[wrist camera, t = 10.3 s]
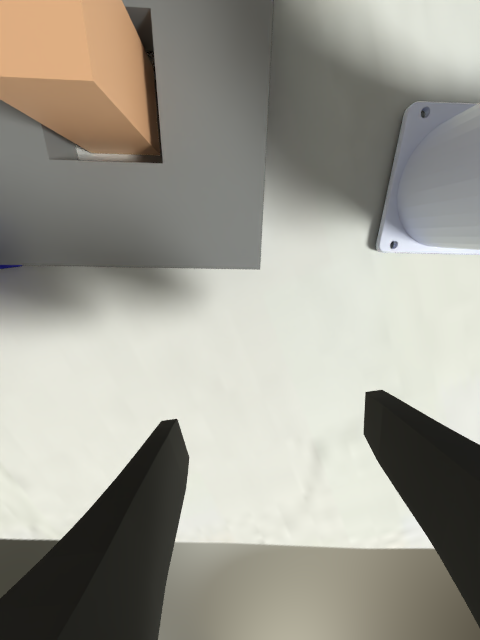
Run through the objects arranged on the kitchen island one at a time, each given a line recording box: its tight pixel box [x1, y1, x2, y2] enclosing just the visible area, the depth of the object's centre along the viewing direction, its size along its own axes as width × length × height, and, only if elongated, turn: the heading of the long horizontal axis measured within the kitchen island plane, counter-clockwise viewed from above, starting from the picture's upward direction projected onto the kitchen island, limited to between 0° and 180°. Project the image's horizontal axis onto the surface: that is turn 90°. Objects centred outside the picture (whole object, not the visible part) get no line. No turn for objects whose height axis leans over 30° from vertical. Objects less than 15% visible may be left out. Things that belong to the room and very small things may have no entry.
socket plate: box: [0, 0, 274, 269], centre depth 12 cm, size 16×16×2 cm
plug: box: [0, 0, 160, 156], centre depth 10 cm, size 4×4×7 cm
